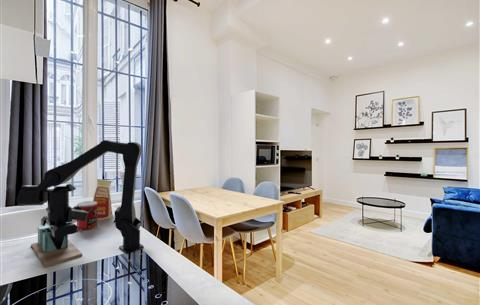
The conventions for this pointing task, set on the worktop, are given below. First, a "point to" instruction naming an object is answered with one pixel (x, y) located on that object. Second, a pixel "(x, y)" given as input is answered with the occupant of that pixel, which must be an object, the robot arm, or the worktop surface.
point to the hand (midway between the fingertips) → (58, 249)
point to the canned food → (91, 217)
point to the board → (56, 254)
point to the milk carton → (103, 199)
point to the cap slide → (49, 244)
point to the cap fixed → (41, 233)
